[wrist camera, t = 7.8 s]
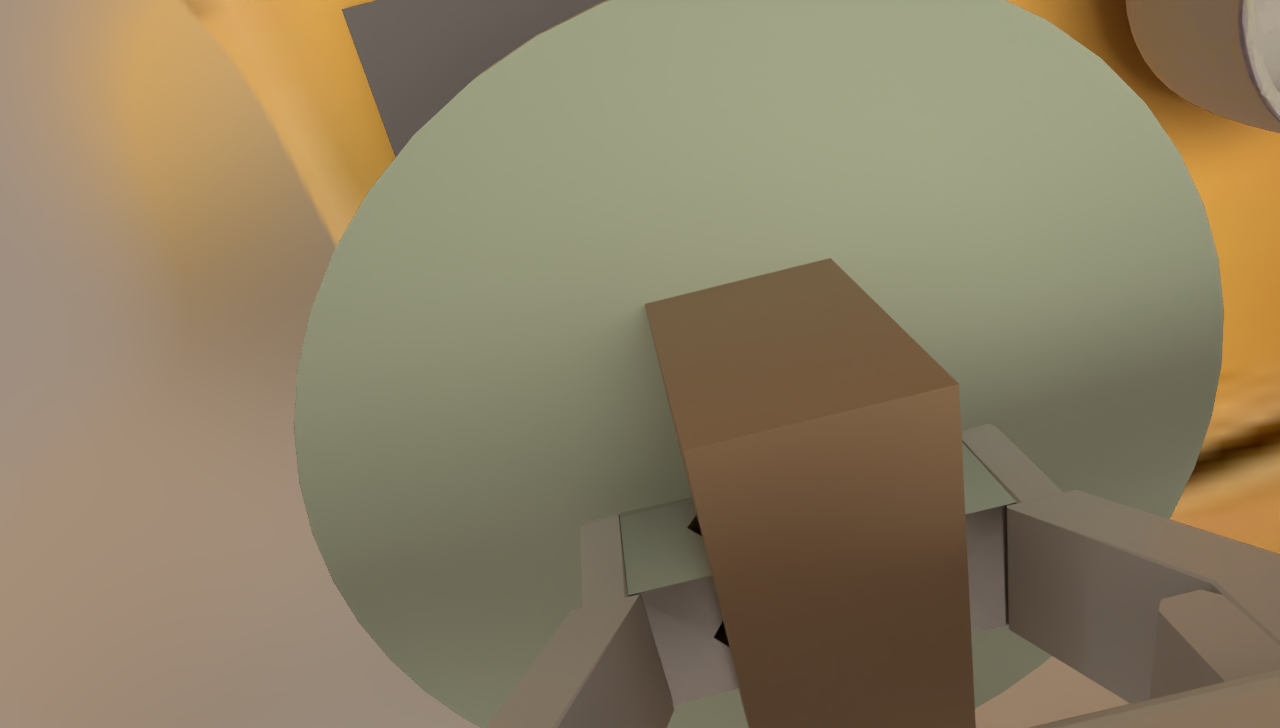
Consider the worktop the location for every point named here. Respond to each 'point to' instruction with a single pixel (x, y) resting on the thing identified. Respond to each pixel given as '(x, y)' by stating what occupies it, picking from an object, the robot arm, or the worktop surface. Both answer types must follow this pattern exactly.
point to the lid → (753, 339)
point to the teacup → (1215, 54)
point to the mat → (440, 49)
